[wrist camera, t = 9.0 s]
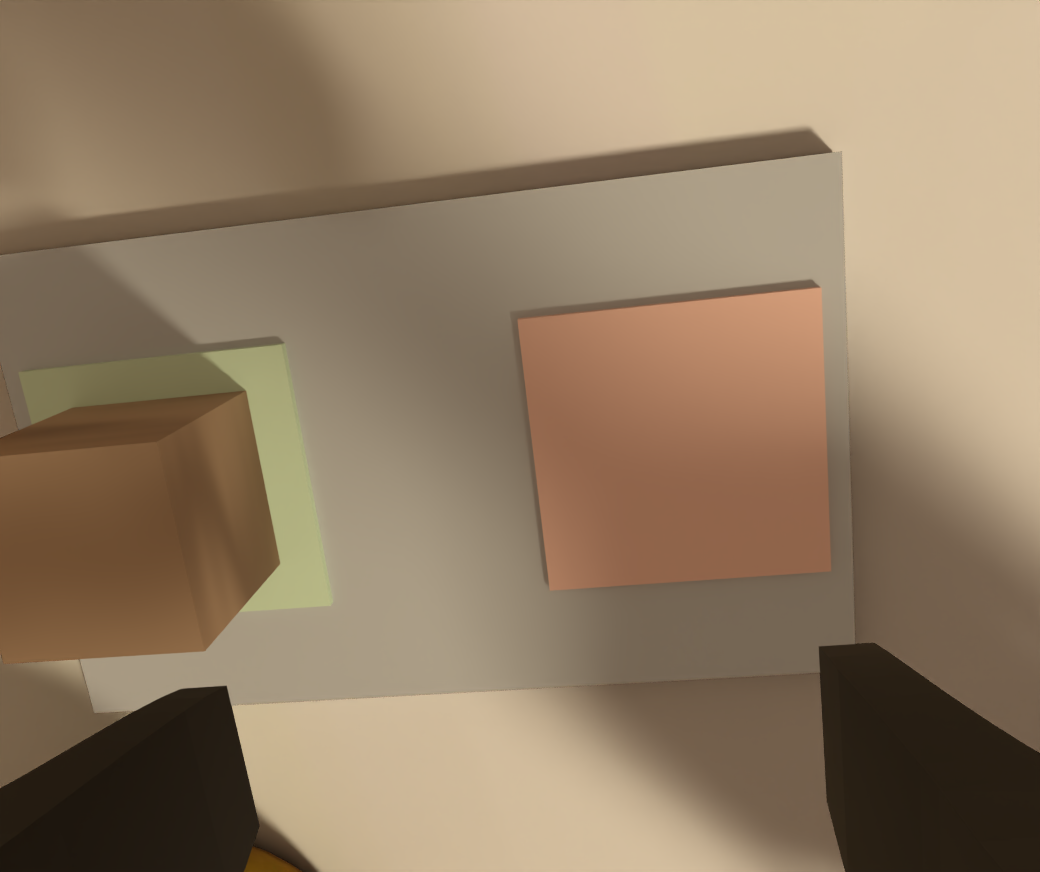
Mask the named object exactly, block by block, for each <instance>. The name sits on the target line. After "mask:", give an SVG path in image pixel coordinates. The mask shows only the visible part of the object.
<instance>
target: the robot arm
mask: <svg viewBox="0 0 1040 872" xmlns="http://www.w3.org/2000/svg"><path fill="white" fill-rule="evenodd" d="M819 664H820V683H821V701H822V720H823V738H824V757H825V776H826V794H827V803H828V807H829V811H830V815H831V819H832V823H833V827H834V831H835V835H836V838H837V842H838V846H839V850H840V854H841V857H842V861H843V865H844V868H845V872H1040V753H1039V752H1037V751H1035V750H1034V749H1032V748H1030V747H1028V746H1027V745H1025V744H1023V743H1022V742H1020V741H1019V740H1017V739H1015V738H1014V737H1012V736H1011V735H1009V734H1007V733H1006V732H1004V731H1003V730H1001V729H1000V728H998V727H996V726H995V725H993V724H992V723H990V722H989V721H987V720H986V719H984V718H983V717H981V716H980V715H978V714H977V713H975V712H974V711H972V710H971V709H969V708H968V707H966V706H965V705H963V704H962V703H960V702H959V701H957V700H956V699H954V698H953V697H951V696H950V695H949V694H947V693H946V692H944V691H943V690H941V689H940V688H939V687H937V686H936V685H934V684H933V683H931V682H930V681H929V680H927V679H926V678H924V677H923V676H921V675H920V674H919V673H917V672H916V671H914V670H913V669H912V668H910V667H909V666H907V665H906V664H905V663H903V662H902V661H900V660H899V659H898V658H896V657H895V656H893V655H892V654H890V653H889V652H887V651H886V650H884V649H883V648H881V647H880V646H878V645H877V644H875V643H862V644H847V645H832V646H819ZM258 829H259V822H258V817H257V813H256V809H255V805H254V800H253V796H252V792H251V787H250V783H249V779H248V775H247V770H246V766H245V762H244V757H243V753H242V749H241V745H240V740H239V736H238V732H237V727H236V723H235V719H234V715H233V710H232V706H231V702H230V697H229V693H228V689H227V686H213V687H198V688H183V689H179V690H177V691H175V692H172V693H170V694H168V695H165V696H163V697H161V698H159V699H157V700H155V701H153V702H151V703H149V704H147V705H145V706H143V707H142V708H140V709H138V710H136V711H134V712H132V713H131V714H129V715H127V716H125V717H124V718H122V719H120V720H118V721H117V722H115V723H113V724H111V725H110V726H108V727H106V728H104V729H103V730H101V731H99V732H97V733H96V734H94V735H92V736H91V737H89V738H87V739H85V740H84V741H82V742H80V743H79V744H77V745H75V746H73V747H72V748H70V749H68V750H67V751H65V752H63V753H62V754H60V755H58V756H56V757H55V758H53V759H51V760H50V761H48V762H46V763H44V764H43V765H41V766H39V767H38V768H36V769H34V770H32V771H31V772H29V773H27V774H25V775H24V776H22V777H20V778H18V779H16V780H15V781H13V782H11V783H9V784H7V785H6V786H4V787H2V788H0V872H244V870H245V868H246V865H247V862H248V859H249V856H250V853H251V850H252V847H253V844H254V841H255V838H256V835H257V832H258Z"/></svg>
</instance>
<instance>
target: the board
mask: <svg viewBox="0 0 1040 872" xmlns="http://www.w3.org/2000/svg"><path fill="white" fill-rule="evenodd" d="M0 364H1V368H2V371H3V375H4V379H5V383H6V386H7V390H8V394H9V397H10V401H11V405H12V409H13V412H14V416H15V420H16V424H17V427H18V430H21V429H23V428H25V427H28V426H30V425H32V424H35V423H37V422H40V421H42V420H44V419H47V418H49V417H51V416H54V415H56V414H58V413H61V412H63V411H66V410H68V409H70V408H75V407H85V406H95V405H105V404H115V403H126V402H136V401H146V400H156V399H166V398H176V397H187V396H197V395H207V394H217V393H227V392H237V391H246V393H247V398H248V403H249V408H250V413H251V418H252V423H253V428H254V433H255V438H256V443H257V448H258V453H259V458H260V463H261V468H262V473H263V478H264V483H265V489H266V494H267V499H268V504H269V509H270V514H271V519H272V524H273V529H274V534H275V539H276V544H277V549H278V554H279V559H280V565H279V566H278V567H277V568H276V570H275V571H274V572H273V573H272V574H271V575H270V577H269V578H268V579H267V580H266V581H265V582H264V583H263V585H262V586H261V587H260V588H259V589H258V590H257V592H256V593H255V594H254V595H253V596H252V597H251V599H250V600H249V601H248V602H247V603H246V604H245V605H244V607H243V608H242V609H241V610H240V611H239V612H238V614H237V615H236V616H235V617H234V618H233V619H232V621H231V622H230V623H229V624H228V625H227V626H226V627H225V629H224V630H223V631H222V632H221V633H220V634H219V636H218V637H217V638H216V639H215V640H214V641H213V643H212V644H211V645H210V646H209V647H208V648H207V649H206V651H204V652H188V653H171V654H155V655H139V656H123V657H107V658H91V659H80V662H81V666H82V670H83V674H84V677H85V681H86V685H87V688H88V692H89V696H90V700H91V703H92V707H93V711H94V713H106V712H124V711H136V710H138V709H140V708H142V707H143V706H145V705H147V704H149V703H151V702H153V701H155V700H157V699H159V698H161V697H163V696H165V695H168V694H170V693H172V692H175V691H177V690H179V689H183V688H198V687H213V686H227V689H228V693H229V697H230V702H231V706H232V705H250V704H268V703H286V702H304V701H322V700H340V699H358V698H376V697H394V696H412V695H430V694H448V693H466V692H484V691H502V690H520V689H538V688H556V687H575V686H593V685H611V684H629V683H647V682H665V681H683V680H701V679H719V678H737V677H755V676H773V675H791V674H809V673H820V664H819V646H832V645H847V644H855V609H854V573H853V537H852V500H851V464H850V428H849V392H848V355H847V319H846V283H845V247H844V210H843V174H842V151H841V152H833V153H825V154H816V155H808V156H800V157H792V158H784V159H776V160H768V161H760V162H752V163H743V164H735V165H727V166H719V167H711V168H703V169H695V170H687V171H678V172H670V173H662V174H654V175H646V176H638V177H630V178H622V179H614V180H605V181H597V182H589V183H581V184H573V185H565V186H557V187H549V188H540V189H532V190H524V191H516V192H508V193H500V194H492V195H484V196H475V197H467V198H459V199H451V200H443V201H435V202H427V203H419V204H411V205H402V206H394V207H386V208H378V209H370V210H362V211H354V212H346V213H337V214H329V215H321V216H313V217H305V218H297V219H289V220H281V221H273V222H264V223H256V224H248V225H240V226H232V227H224V228H216V229H208V230H199V231H191V232H183V233H175V234H167V235H159V236H151V237H143V238H135V239H126V240H118V241H110V242H102V243H94V244H86V245H78V246H70V247H61V248H53V249H45V250H37V251H29V252H21V253H13V254H5V255H0Z"/></svg>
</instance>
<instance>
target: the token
mask: <svg viewBox="0 0 1040 872" xmlns="http://www.w3.org/2000/svg"><path fill="white" fill-rule="evenodd" d="M279 565H280V559H279V554H278V549H277V544H276V539H275V534H274V529H273V524H272V519H271V514H270V509H269V504H268V499H267V494H266V489H265V483H264V478H263V473H262V468H261V463H260V458H259V453H258V448H257V443H256V438H255V433H254V428H253V423H252V418H251V413H250V408H249V403H248V398H247V393H246V391H237V392H227V393H217V394H207V395H197V396H187V397H176V398H166V399H156V400H146V401H136V402H126V403H115V404H105V405H95V406H85V407H75V408H70V409H68V410H66V411H63V412H61V413H58V414H56V415H54V416H51V417H49V418H47V419H44V420H42V421H40V422H37V423H35V424H32V425H30V426H28V427H25V428H23V429H21V430H18V431H16V432H13V433H11V434H9V435H6V436H4V437H2V438H0V653H1V656H2V660H3V663H4V664H10V663H26V662H43V661H59V660H75V659H91V658H107V657H123V656H139V655H155V654H171V653H188V652H204V651H206V649H207V648H208V647H209V646H210V645H211V644H212V643H213V641H214V640H215V639H216V638H217V637H218V636H219V634H220V633H221V632H222V631H223V630H224V629H225V627H226V626H227V625H228V624H229V623H230V622H231V621H232V619H233V618H234V617H235V616H236V615H237V614H238V612H239V611H240V610H241V609H242V608H243V607H244V605H245V604H246V603H247V602H248V601H249V600H250V599H251V597H252V596H253V595H254V594H255V593H256V592H257V590H258V589H259V588H260V587H261V586H262V585H263V583H264V582H265V581H266V580H267V579H268V578H269V577H270V575H271V574H272V573H273V572H274V571H275V570H276V568H277V567H278V566H279Z"/></svg>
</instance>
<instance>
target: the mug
mask: <svg viewBox="0 0 1040 872" xmlns="http://www.w3.org/2000/svg"><path fill="white" fill-rule="evenodd" d="M244 872H302V871H301V870H299V869H298V868H296V867H295V866H294V865H292V864H290V863H288V862H286V861H284V860H283V859H281V858H279V857H277V856H275V855H273V854H271V853H270V852H268V851H265V850H262V849H259V848H256V847H252V850H251V853H250V856H249V859H248V862H247V865H246V868H245V870H244Z"/></svg>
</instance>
